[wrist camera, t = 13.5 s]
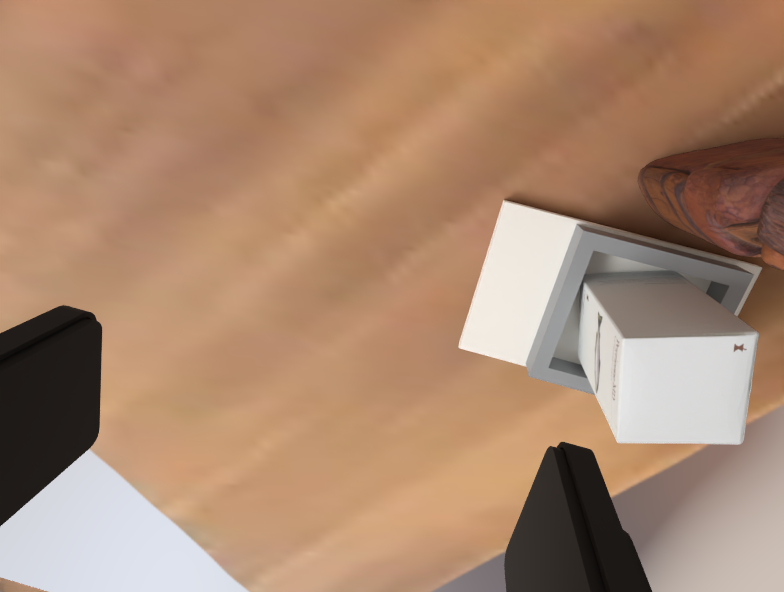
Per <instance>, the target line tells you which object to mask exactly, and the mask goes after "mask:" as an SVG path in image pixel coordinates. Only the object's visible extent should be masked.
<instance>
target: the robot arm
mask: <svg viewBox="0 0 784 592" xmlns="http://www.w3.org/2000/svg"><path fill="white" fill-rule="evenodd" d="M101 352H102V326H101V324H100V323H99V322H97V320H96V317H95V315H94V314H93V313H91V312H88V311H84V310H80V309H77V308H73V307H69V306H64V305H63V306H59V307H57V308H54V309H52V310H50V311H48V312H46V313H43V314H41V315H39V316H37V317H35V318H33V319H30V320H28V321H26V322H24V323H22V324H20V325H17V326H15V327H13V328H11V329H9V330H7V331H4V332H2V333H0V526H1V525H2V524H3V523H5V522H6V521H7V520H8V519H9V518H10V517H11V516H13V515H14V514H15V513H16V512H17V511H18V510H20V508H22V507H23V506H24V505H25V504H26V503H28V502H29V501H30V500H31V499H32V498H33V497H34V496H35V495H37V494H38V493H39V492H40V491H41V490H42V489H44V488H45V487H46V486H47V485H48V484H49V483H50V482H51V481H53V480H54V479H55V478H56V477H57V476H58V475H60V474H61V473H62V472H63V471H64V470H65V469H66V468H68V466H70V465H71V464H72V463H73V462H74V461H76V460H77V459H78V458H79V457H80V456H81V455H82V454H84V453H85V452H86V451H87V450H88V449H89V448H90V447H91V446H92V445H93V444H94V442H95V441H96V439H97V437H98V433H99V425H100V389H101ZM505 579H506V591H507V592H652V590H651V587H650V585H649V582H648V580H647V577H646V575H645V572H644V570H643V567H642V564H641V562H640V559H639V557H638V554H637V552H636V549H635V547H634V545H633V542H632V540H631V538H630V536H629V534H628V533H627V532H625V531H624V530H623V529H622V526H621V524H620V521H619V519H618V516H617V513H616V511H615V508H614V505H613V503H612V500H611V498H610V495H609V492H608V490H607V487H606V484H605V482H604V479H603V476H602V474H601V471H600V469H599V466H598V463H597V461H596V458H595V455H594V453H593V451H592V450H590V449H587V448H584V447H580V446H576V445H573V444H569V443H565V442H561V443H560V444H559V445H558V446H557V448H556V447H552V446H550V447H549V448H548V449H547V451H546V453H545V455H544V458H543V460H542V463H541V465H540V467H539V470H538V472H537V475H536V477H535V480H534V482H533V485H532V487H531V490H530V492H529V495H528V497H527V500H526V502H525V505H524V507H523V510H522V512H521V514H520V517H519V519H518V522H517V524H516V527H515V529H514V532H513V534H512V537H511V539H510V542H509V544H508V547H507V550H506V554H505ZM0 592H47V591H43V590H40V589H37V588H34V587H30V586H27V585H24V584H20V583H17V582H14V581H10V580H7V579H4V578H0Z"/></svg>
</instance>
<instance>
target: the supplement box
mask: <svg viewBox="0 0 784 592" xmlns="http://www.w3.org/2000/svg"><path fill="white" fill-rule="evenodd" d="M758 338H759V333H758V332H757V331H756V330H754V329H753V328H752V327H750V326H749V325H748V324H746V323H745V322H744V321H742V320H741V319H740V318H738V317H737V316H736V315H734V314H733V313H732V312H730V311H729V310H727V309H726V308H725V307H723V306H722V305H721V304H719V303H718V302H717V301H715V300H714V299H713V298H711V297H710V296H709V295H707V294H706V293H705V292H703V291H702V290H700V289H699V288H698V287H696V286H695V285H694V284H692V283H691V282H690V281H688V280H687V279H686V278H684V277H683V276H682V275H680V274H679V273H678V272H675V271H671V270H666V271H643V272H619V273H599V274H584V277H583V279H582V282H581V285H580V312H579V337H578V351H577V355H578V358H579V360H580V362H581V364H582V367H583V369H584V371H585V374H586V376H587V378H588V380H589V382H590V384H591V387H592V389H593V391H594V393H595V395H596V398H597V400H598V402H599V404H600V406H601V408H602V410H603V412H604V414H605V417H606V419H607V421H608V423H609V425H610V428H611V430H612V432H613V434H614V436H615V439H616V441H617V442H618V443H696V444H735V445H737V444H738V445H739V444H741V443H742V442H743V439H744V432H745V425H746V418H747V411H748V404H749V397H750V392H751V386H752V376H753V369H754V362H755V355H756V349H757V342H758Z"/></svg>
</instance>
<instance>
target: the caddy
mask: <svg viewBox="0 0 784 592" xmlns="http://www.w3.org/2000/svg"><path fill="white" fill-rule="evenodd" d="M666 270H671V271H675V272H678V273H679V274H680V275H682V276H683V277H684V278H686V279H687V280H688V281H690V282H691V283H692V284H694V285H695V286H696V287H698V288H699V289H700V290H702V291H703V292H705V293H706V294H707V295H709V296H710V297H711V298H713V299H714V300H715V301H717V302H718V303H719V304H721V305H722V306H723V307H725V308H726V309H727V310H729V311H730V312H732V313H733V314H734V315H736V316H738V314H739V313H740V311H741V309H742V307H743V305H744V303H745V301H746V299H747V297H748V295H749V293H750V291H751V289H752V287H753V285H754V283H755V281H756V279H757V278H758V276H759V274H760V272H761V270H762V267H760V266H758V265H756V264H752V263H748V262H744V261H740V260H736V259H732V258H729V257H725V256H721V255H717V254H713V253H709V252H705V251H701V250H698V249H694V248H690V247H686V246H682V245H678V244H674V243H670V242H666V241H663V240H659V239H655V238H651V237H647V236H643V235H639V234H635V233H631V232H628V231H624V230H620V229H616V228H612V227H608V226H604V225H600V224H596V223H593V222H589V221H585V220H581V219H577V218H573V217H569V216H565V215H562V214H558V213H554V212H550V211H546V210H542V209H538V208H534V207H530V206H527V205H523V204H519V203H515V202H511V201H507V200H503V203H502V207H501V210H500V213H499V216H498V219H497V223H496V226H495V229H494V232H493V235H492V239H491V242H490V245H489V248H488V252H487V255H486V258H485V261H484V264H483V268H482V271H481V274H480V277H479V281H478V284H477V287H476V290H475V293H474V297H473V300H472V303H471V306H470V310H469V313H468V316H467V319H466V322H465V326H464V329H463V332H462V335H461V338H460V342H459V348H460V349H464V350H468V351H471V352H475V353H479V354H482V355H486V356H490V357H493V358H497V359H501V360H504V361H508V362H511V363H515V364H519V365H522V366H526V367H527V371H528V375H529V377H532V378H535V379H539V380H543V381H546V382H550V383H554V384H557V385H561V386H565V387H568V388H572V389H575V390H579V391H583V392H586V393H590V394H594V395H595V393H594V391H593V389H592V387H591V384H590V382H589V380H588V378H587V376H586V374H585V371H584V369H583V367H582V364H581V362H580V360H579V358H578V355H577V351H578V337H579V312H580V285H581V282H582V279H583V277H584V274H599V273H619V272H643V271H666Z"/></svg>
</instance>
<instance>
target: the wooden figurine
mask: <svg viewBox="0 0 784 592" xmlns="http://www.w3.org/2000/svg"><path fill="white" fill-rule="evenodd" d="M638 183H639V186H640V189H641V191H642V193H643V195H644V197H645V199H646V201H647V202H648V204H649V205H650V207H651V208H652V209H653V210H654V211H655V212H656V213H657V214H658V215H659V216H660V217H661V218H663V219H664V220H665V221H667V222H668V223H670V224H671V225H673V226H675V227H677V228H679V229H682V230H684V231H686V232H688V233H691V234H693V235H695V236H697V237H699V238H702V239H704V240H706V241H708V242H710V243H712V244H714V245H716V246H719V247H721V248H723V249H725V250H727V251H729V252H731V253H733V254H736V255H741V256H749V257H762V259H763V260H764V262H765V263H767V264H768V265H769V266H771V267H773V268H776V269H782V270H784V139H779V138H777V139H758V140H750V141H744V142H740V143H734V144H730V145H725V146H720V147H715V148H711V149H706V150H699V151H693V152H688V153H683V154H678V155H673V156H669V157H666V158H662V159H658V160H655V161H653V162H651V163H649V164H648V165H647V166H646V167H645V168H643V169H642V170H641V171H640V173H639V176H638Z"/></svg>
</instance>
